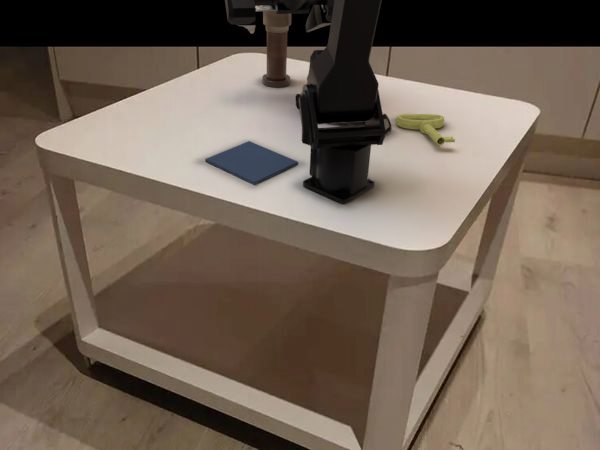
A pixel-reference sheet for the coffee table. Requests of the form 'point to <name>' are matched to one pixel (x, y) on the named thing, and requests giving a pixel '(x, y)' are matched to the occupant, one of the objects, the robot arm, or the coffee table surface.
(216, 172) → the coffee table surface
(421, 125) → the key
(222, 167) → the napkin
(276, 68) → the shaving brush
